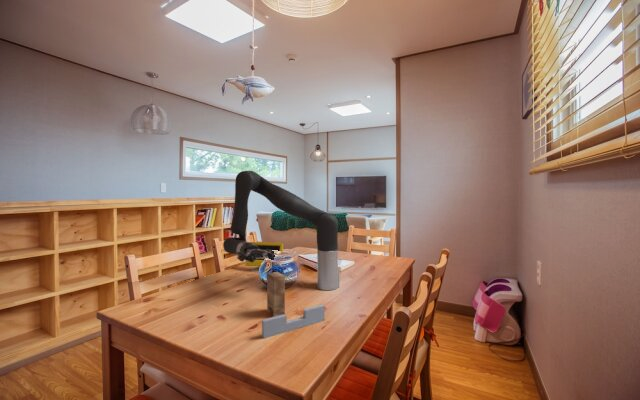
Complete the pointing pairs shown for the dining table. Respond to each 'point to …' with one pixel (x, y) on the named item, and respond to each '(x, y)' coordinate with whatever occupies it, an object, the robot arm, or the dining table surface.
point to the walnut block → (276, 293)
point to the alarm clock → (263, 247)
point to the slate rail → (292, 321)
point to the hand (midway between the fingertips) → (263, 258)
